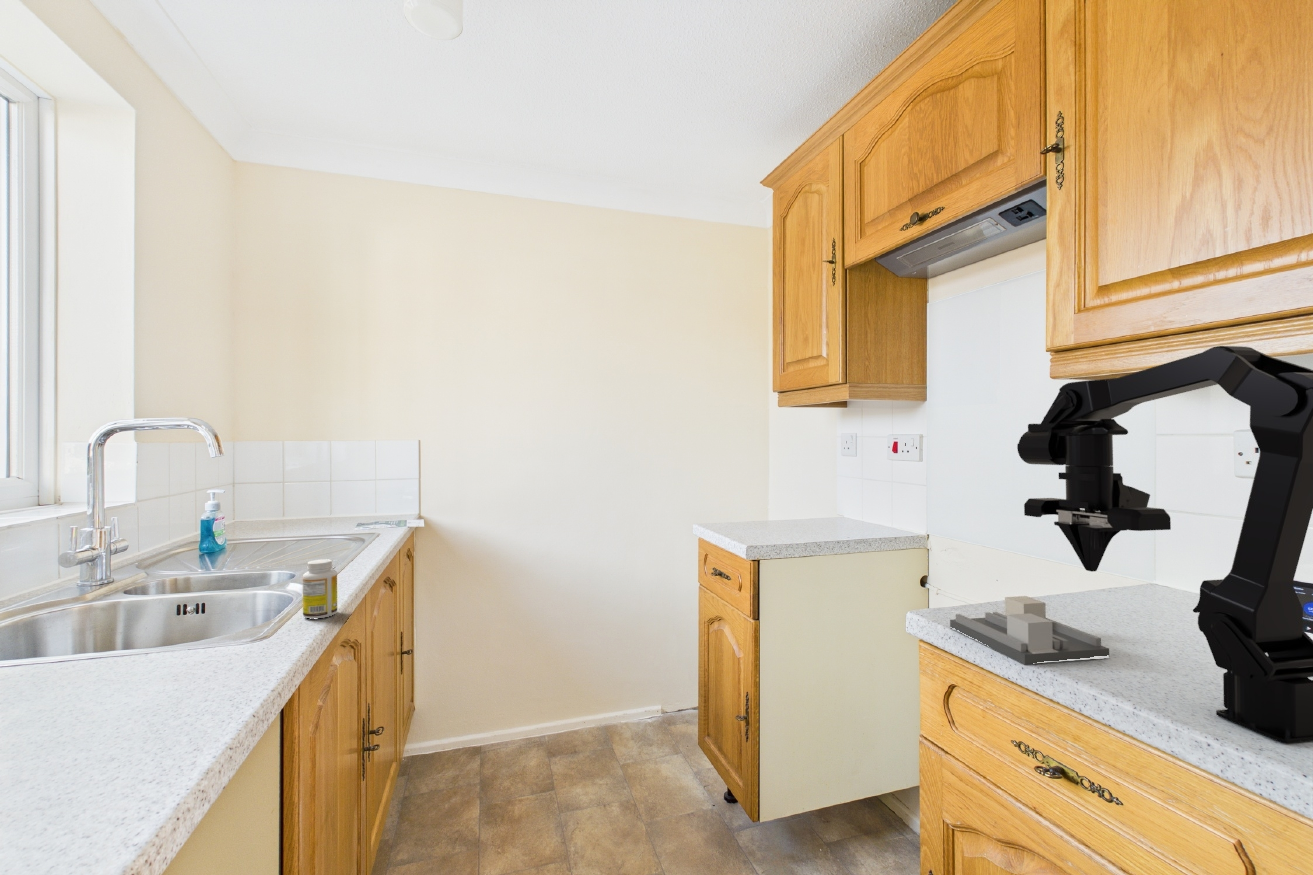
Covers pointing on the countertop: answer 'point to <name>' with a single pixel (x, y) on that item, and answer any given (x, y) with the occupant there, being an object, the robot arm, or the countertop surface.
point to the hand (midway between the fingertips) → (1091, 570)
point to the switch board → (995, 636)
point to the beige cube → (1024, 606)
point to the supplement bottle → (319, 589)
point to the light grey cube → (1030, 631)
